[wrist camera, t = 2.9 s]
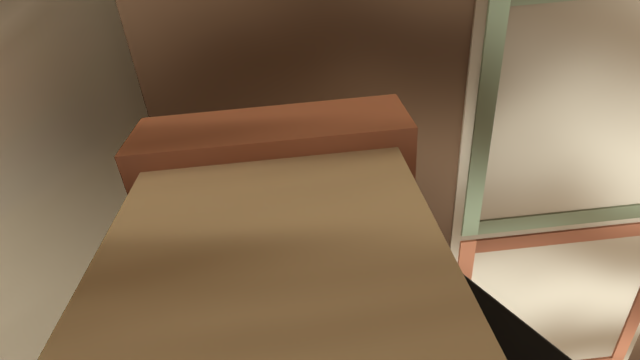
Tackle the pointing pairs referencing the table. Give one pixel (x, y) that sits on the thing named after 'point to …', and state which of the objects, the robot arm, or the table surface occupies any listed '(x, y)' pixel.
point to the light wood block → (274, 245)
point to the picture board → (456, 127)
